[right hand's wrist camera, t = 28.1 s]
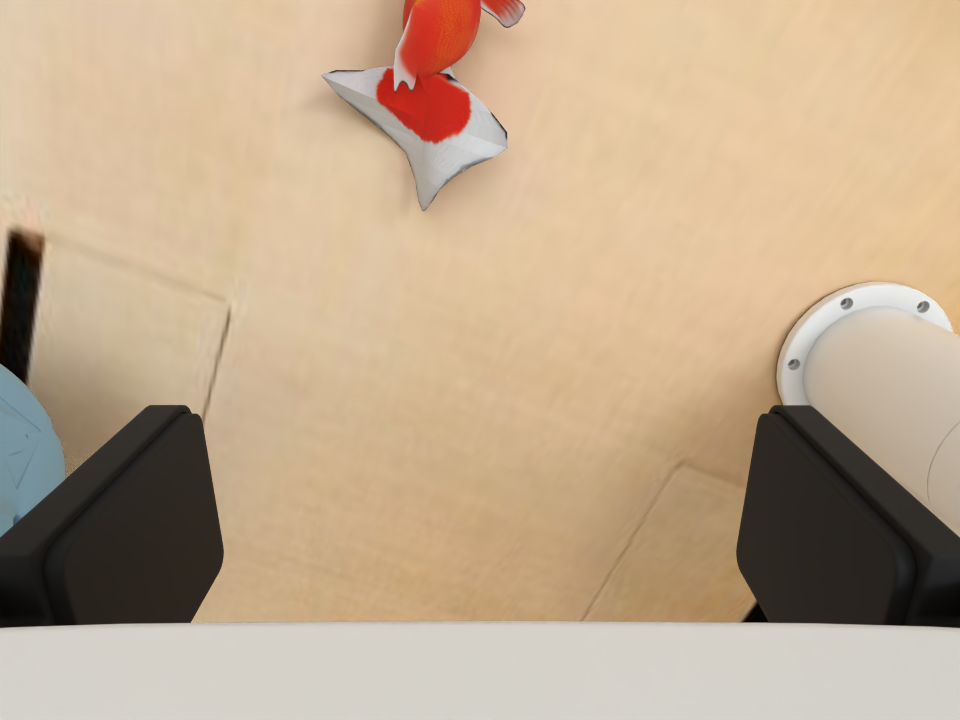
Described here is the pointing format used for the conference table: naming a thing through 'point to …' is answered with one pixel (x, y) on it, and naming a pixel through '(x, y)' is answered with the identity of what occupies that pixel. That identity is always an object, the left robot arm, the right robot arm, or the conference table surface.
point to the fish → (431, 92)
